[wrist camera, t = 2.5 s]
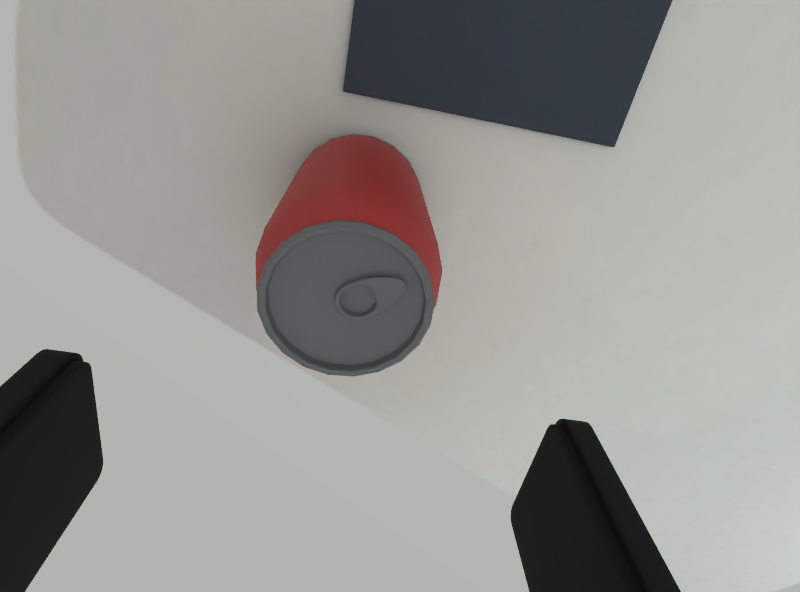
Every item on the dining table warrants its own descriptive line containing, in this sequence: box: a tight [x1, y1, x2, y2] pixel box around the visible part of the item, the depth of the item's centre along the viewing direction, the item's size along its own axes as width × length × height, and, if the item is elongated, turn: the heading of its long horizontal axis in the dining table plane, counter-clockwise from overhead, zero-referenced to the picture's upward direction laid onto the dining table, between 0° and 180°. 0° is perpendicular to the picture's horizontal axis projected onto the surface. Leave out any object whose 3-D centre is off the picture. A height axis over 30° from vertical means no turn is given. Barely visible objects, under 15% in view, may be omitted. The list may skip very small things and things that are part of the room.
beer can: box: [256, 134, 442, 376], centre depth 20 cm, size 7×7×12 cm
